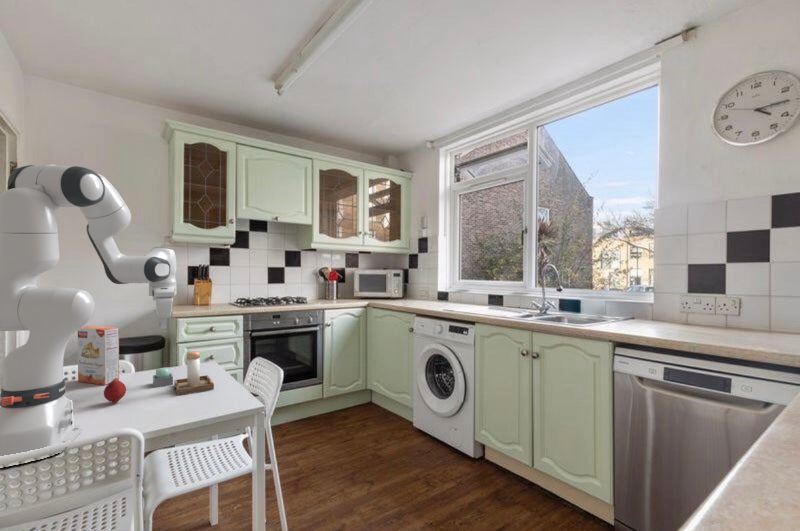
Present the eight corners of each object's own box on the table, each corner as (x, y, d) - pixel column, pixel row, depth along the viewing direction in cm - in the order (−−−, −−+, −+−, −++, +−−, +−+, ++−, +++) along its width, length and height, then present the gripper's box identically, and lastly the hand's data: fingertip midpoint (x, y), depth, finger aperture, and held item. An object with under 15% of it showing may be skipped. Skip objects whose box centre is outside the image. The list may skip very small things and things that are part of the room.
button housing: (172, 384, 143) (172, 376, 143) (153, 387, 140) (153, 379, 140) (171, 380, 148) (171, 372, 148) (152, 383, 145) (152, 375, 145)
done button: (170, 380, 144) (170, 369, 144) (156, 382, 141) (156, 371, 141) (169, 377, 147) (169, 366, 147) (155, 379, 145) (155, 368, 145)
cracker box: (76, 382, 146) (76, 327, 146) (93, 377, 152) (93, 324, 151) (103, 386, 142) (103, 329, 142) (119, 381, 147) (119, 326, 147)
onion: (114, 406, 121) (114, 381, 121) (99, 405, 122) (99, 380, 122) (130, 400, 127) (130, 376, 127) (115, 399, 128) (115, 375, 128)
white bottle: (200, 385, 140) (200, 352, 140) (187, 387, 137) (187, 354, 137) (199, 382, 143) (199, 350, 143) (186, 384, 141) (186, 352, 141)
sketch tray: (213, 389, 138) (213, 383, 138) (177, 395, 132) (177, 389, 132) (207, 380, 149) (207, 375, 149) (174, 385, 142) (174, 380, 142)
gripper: (151, 289, 151) (151, 324, 151) (154, 292, 134) (154, 332, 134) (170, 289, 154) (170, 323, 154) (175, 292, 138) (175, 330, 138)
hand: (162, 327), depth 144 cm, fingers open, 4 cm apart
